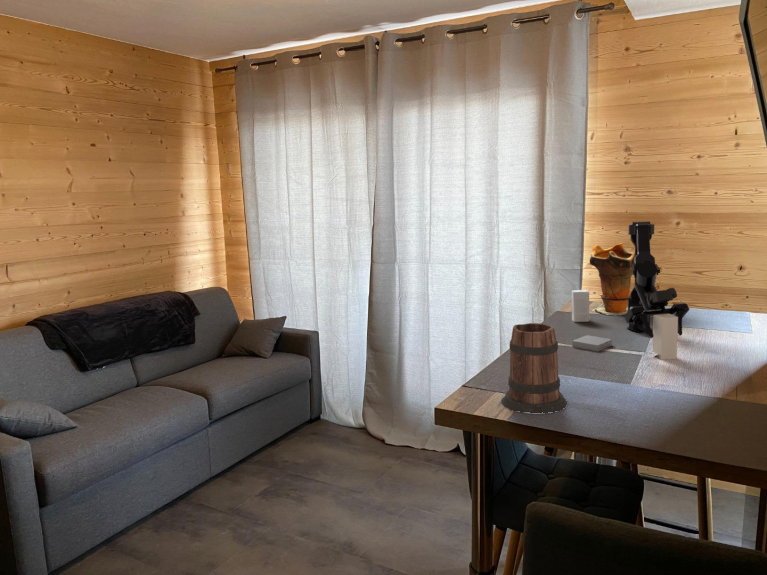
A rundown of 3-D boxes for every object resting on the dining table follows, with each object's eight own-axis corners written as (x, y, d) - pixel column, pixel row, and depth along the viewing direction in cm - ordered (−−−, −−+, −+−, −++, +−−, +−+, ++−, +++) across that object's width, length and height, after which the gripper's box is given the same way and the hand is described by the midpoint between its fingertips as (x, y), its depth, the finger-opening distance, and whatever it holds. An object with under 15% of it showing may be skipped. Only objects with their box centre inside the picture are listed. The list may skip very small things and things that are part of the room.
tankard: (561, 418, 146) (561, 337, 143) (493, 409, 154) (491, 333, 150) (577, 386, 167) (577, 315, 163) (516, 380, 174) (515, 312, 171)
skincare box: (586, 319, 241) (587, 289, 239) (589, 321, 237) (589, 291, 235) (571, 319, 241) (571, 290, 239) (573, 322, 237) (573, 292, 235)
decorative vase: (609, 318, 238) (608, 247, 235) (579, 310, 261) (577, 244, 257) (656, 313, 242) (656, 243, 239) (622, 305, 265) (622, 241, 261)
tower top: (587, 340, 206) (587, 335, 206) (611, 345, 199) (612, 339, 199) (572, 346, 200) (572, 340, 200) (597, 351, 194) (597, 345, 193)
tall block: (652, 355, 191) (653, 314, 188) (667, 354, 191) (668, 313, 189) (661, 359, 186) (662, 318, 183) (676, 358, 186) (678, 317, 184)
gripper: (629, 281, 188) (648, 324, 179) (687, 277, 189) (708, 319, 180) (617, 301, 197) (634, 343, 188) (671, 297, 198) (691, 338, 190)
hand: (666, 336), depth 186 cm, fingers open, 9 cm apart
